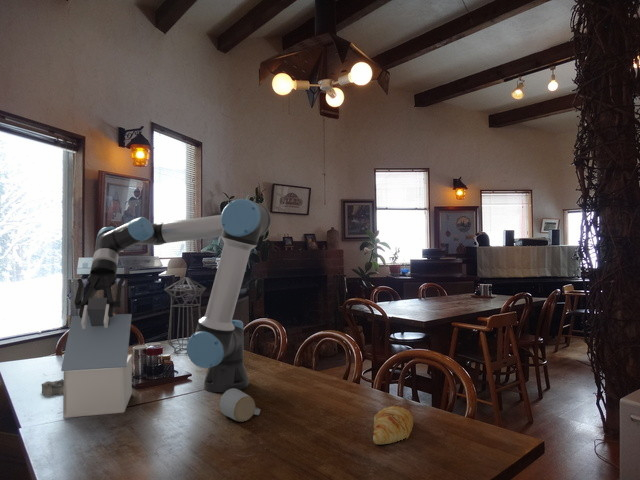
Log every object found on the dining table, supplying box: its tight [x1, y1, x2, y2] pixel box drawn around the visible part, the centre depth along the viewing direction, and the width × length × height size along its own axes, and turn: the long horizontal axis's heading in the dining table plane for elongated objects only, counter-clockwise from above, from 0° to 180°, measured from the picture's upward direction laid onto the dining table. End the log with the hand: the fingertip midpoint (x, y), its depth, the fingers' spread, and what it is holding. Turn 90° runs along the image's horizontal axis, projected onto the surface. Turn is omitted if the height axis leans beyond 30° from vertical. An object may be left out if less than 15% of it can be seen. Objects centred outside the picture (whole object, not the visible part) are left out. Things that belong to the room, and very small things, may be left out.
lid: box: [60, 297, 133, 372], centre depth 135 cm, size 18×17×10 cm
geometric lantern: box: [164, 277, 207, 354], centre depth 218 cm, size 16×16×35 cm
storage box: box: [62, 354, 133, 418], centre depth 141 cm, size 18×16×13 cm
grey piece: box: [41, 378, 64, 397], centre depth 156 cm, size 11×8×4 cm
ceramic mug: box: [219, 388, 261, 423], centre depth 131 cm, size 11×8×8 cm
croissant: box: [372, 405, 414, 446], centre depth 119 cm, size 21×10×8 cm, turn 149°
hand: (94, 325), depth 132 cm, fingers open, 5 cm apart
